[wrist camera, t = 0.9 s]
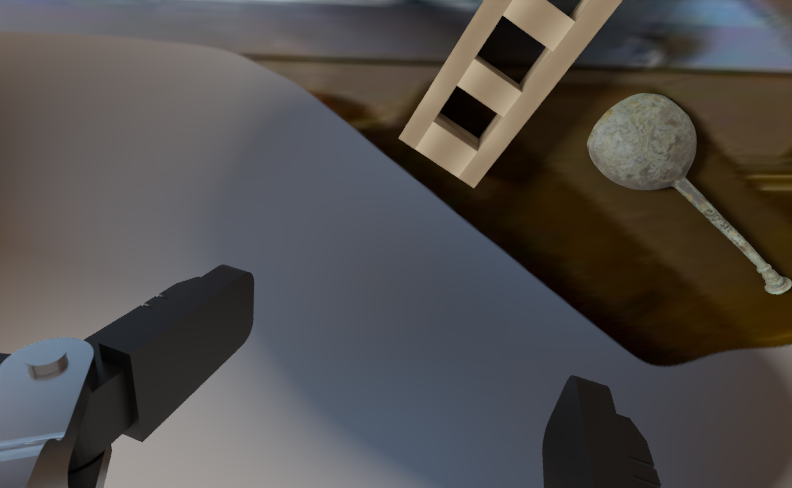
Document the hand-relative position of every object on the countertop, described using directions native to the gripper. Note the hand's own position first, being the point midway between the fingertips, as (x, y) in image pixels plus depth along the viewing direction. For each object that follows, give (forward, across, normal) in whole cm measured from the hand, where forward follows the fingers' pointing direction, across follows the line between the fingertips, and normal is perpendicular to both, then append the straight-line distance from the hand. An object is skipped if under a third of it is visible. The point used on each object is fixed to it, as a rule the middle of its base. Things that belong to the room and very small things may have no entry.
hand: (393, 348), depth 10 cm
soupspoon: (+30, -17, 0) cm, 34 cm away
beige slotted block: (+26, 0, -8) cm, 27 cm away
